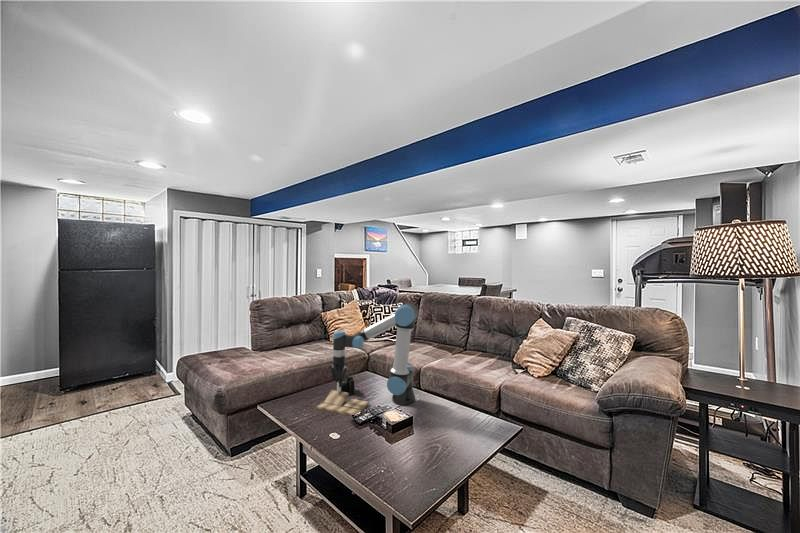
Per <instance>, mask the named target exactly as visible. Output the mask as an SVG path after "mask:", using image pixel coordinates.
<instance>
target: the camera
mask: <svg viewBox="0 0 800 533" xmlns="http://www.w3.org/2000/svg"><path fill="white" fill-rule="evenodd" d="M355 386H356V385H355V380H354V377H353V376H350V375H347V374H346V377H345V381H343V382H342V387H341V392H346V393H349V395H350V394H351V395H352V394H353V395H355V392H356V391H355Z"/></svg>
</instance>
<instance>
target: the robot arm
mask: <svg viewBox="0 0 800 533" xmlns="http://www.w3.org/2000/svg"><path fill="white" fill-rule="evenodd" d="M418 316H419V308H418V306H417V305H415V304H414V303H411V302H407V303H404V304H402V305H400V306H398V307H397V309H396V310H395V311H394V313H392V314H391V315H389V316H386V317H385V318H383V319H381V320H379V321H378V322H375V323H373V324H372V325H370V326H368V327H365V328H364V329H362V330H360V331H358V332H356V333H355V334H352V335H348V334H346V331H344V330H336V331H334V332H333V335H332V336H333V337H332V339H333V340H332V344H333V345H332V346H333V347H332V348H333V349H332V364H330V365H329V369H330V372H331V375H332V380H333V382H334V381H335V387H336V391H337V392H338V393H339V392H340V391H341V387H342V383H344V381H345V377H346V376H347V372H348V370H349V366H346V356H345V355H346V348H349V349H362V347H363V346H364V343H365V342H367V341H369V340H370V339H372V338H375V337H376V336H378V335H380V334H383V333H384V332H386V331H388V330H390V329H392V328H394V327H395V328H396V329H397V330H396V337H395V348H394V355H393V363H392V364H393V365H392V367H391V368H390V370H389V371H390V372H389V377H388V379H387V381H386V387H387V390H388V391H389V392H390V393H391V394H392V396H391V401H392V403H394V404H396V405H398V406H399V405H400V406H409V405H413V404H414V403H415V402H416V394H415V391H414V388H413V387H414V384H413V383H414V382H413V381H414V367H413V365H410V364H408V362H409V354H410V346H411V336H412V331H413V330H414V329H415V322H416V319H418Z"/></svg>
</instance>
